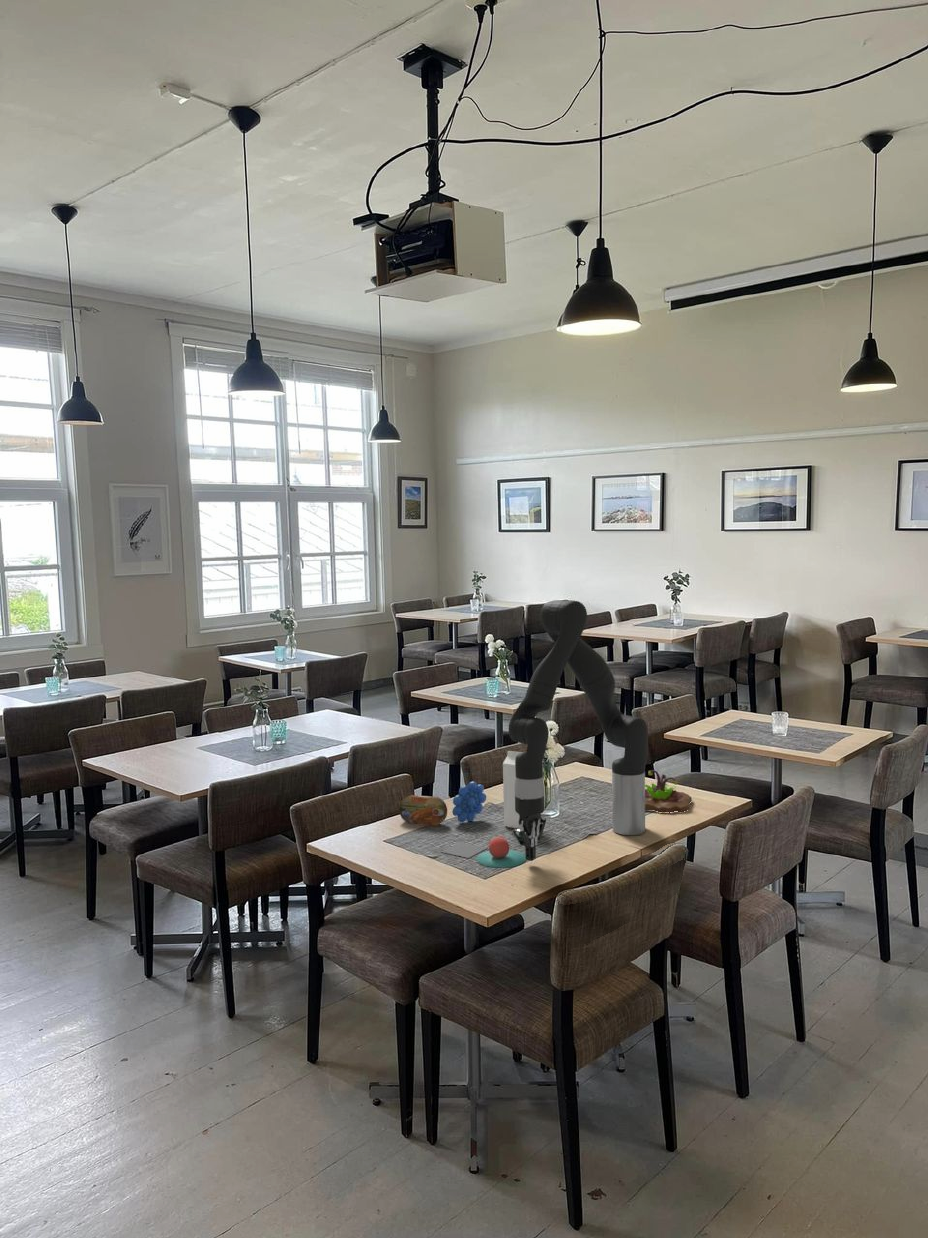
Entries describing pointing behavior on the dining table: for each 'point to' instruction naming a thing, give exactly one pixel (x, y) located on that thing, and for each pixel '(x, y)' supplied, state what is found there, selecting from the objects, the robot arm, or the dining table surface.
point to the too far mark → (464, 850)
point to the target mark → (508, 861)
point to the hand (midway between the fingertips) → (530, 859)
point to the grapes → (469, 802)
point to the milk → (510, 790)
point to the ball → (499, 847)
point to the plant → (665, 796)
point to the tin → (423, 810)
